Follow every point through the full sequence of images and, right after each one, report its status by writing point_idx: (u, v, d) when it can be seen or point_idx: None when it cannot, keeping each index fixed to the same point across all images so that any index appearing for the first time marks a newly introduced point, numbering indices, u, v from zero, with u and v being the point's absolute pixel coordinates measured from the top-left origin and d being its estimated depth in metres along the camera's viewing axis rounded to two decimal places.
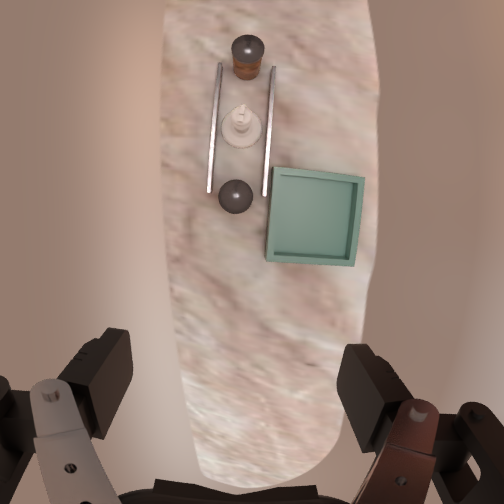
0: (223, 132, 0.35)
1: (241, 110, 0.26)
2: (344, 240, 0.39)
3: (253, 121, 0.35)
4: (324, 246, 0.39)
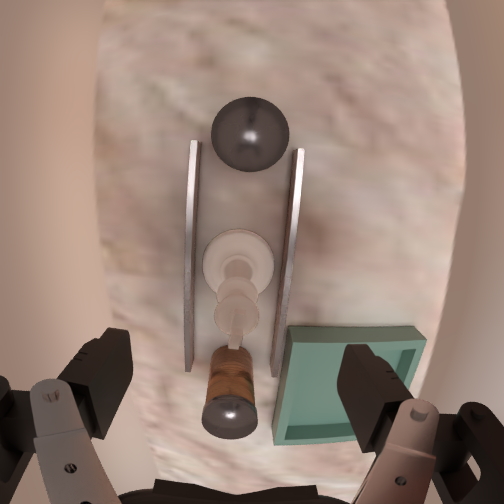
0: (206, 276, 0.21)
1: (235, 338, 0.12)
2: None
3: (259, 259, 0.20)
4: None
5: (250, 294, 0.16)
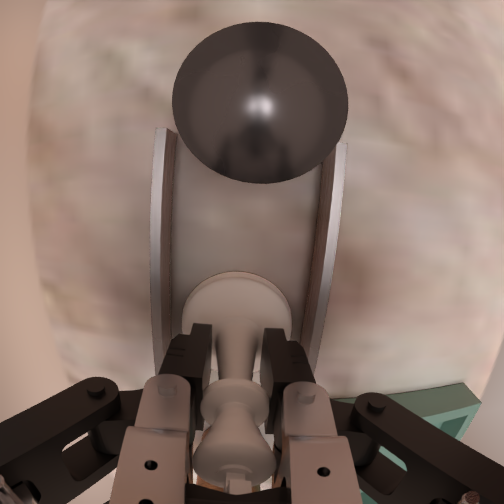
0: None
1: None
2: None
3: (269, 319, 0.13)
4: None
5: (258, 407, 0.08)
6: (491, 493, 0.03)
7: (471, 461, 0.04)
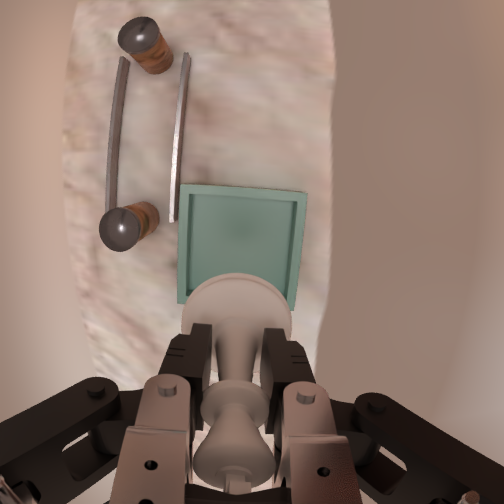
0: None
1: None
2: (283, 276, 0.30)
3: (269, 321, 0.13)
4: None
5: (258, 408, 0.08)
6: (491, 493, 0.03)
7: (472, 460, 0.04)
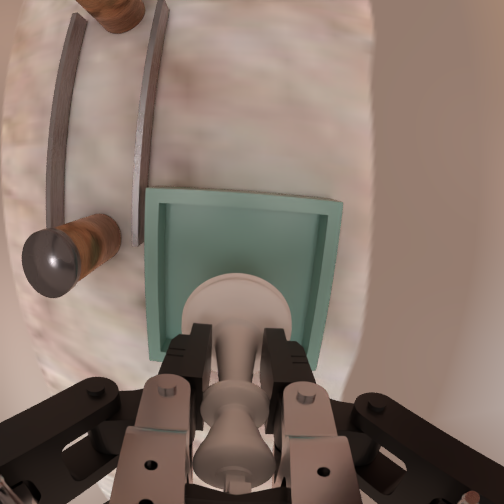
0: None
1: None
2: (301, 321, 0.21)
3: (269, 321, 0.13)
4: None
5: (258, 408, 0.08)
6: (491, 493, 0.03)
7: (471, 461, 0.04)
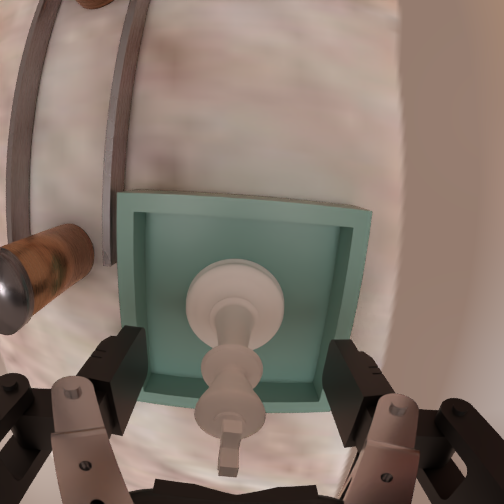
0: (191, 324, 0.15)
1: (226, 470, 0.06)
2: (314, 354, 0.17)
3: (263, 300, 0.14)
4: (265, 367, 0.17)
5: (251, 369, 0.10)
6: None
7: None
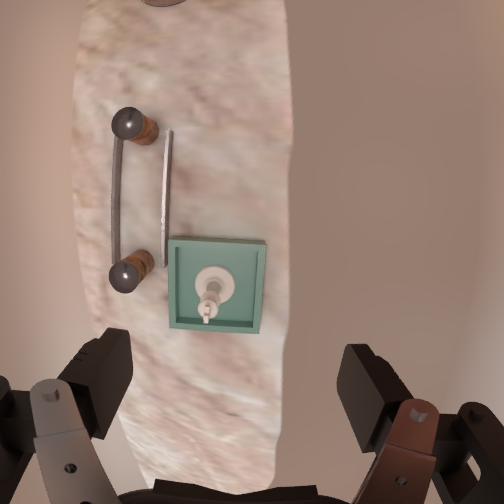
0: (197, 291, 0.37)
1: (205, 317, 0.28)
2: (251, 306, 0.39)
3: (225, 280, 0.37)
4: (229, 312, 0.39)
5: (216, 299, 0.32)
6: None
7: None
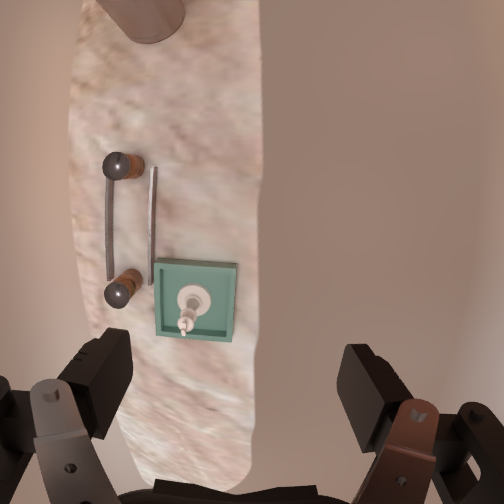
0: (179, 305, 0.43)
1: (182, 331, 0.34)
2: (225, 318, 0.45)
3: (202, 297, 0.42)
4: (207, 323, 0.45)
5: (193, 315, 0.38)
6: None
7: None
